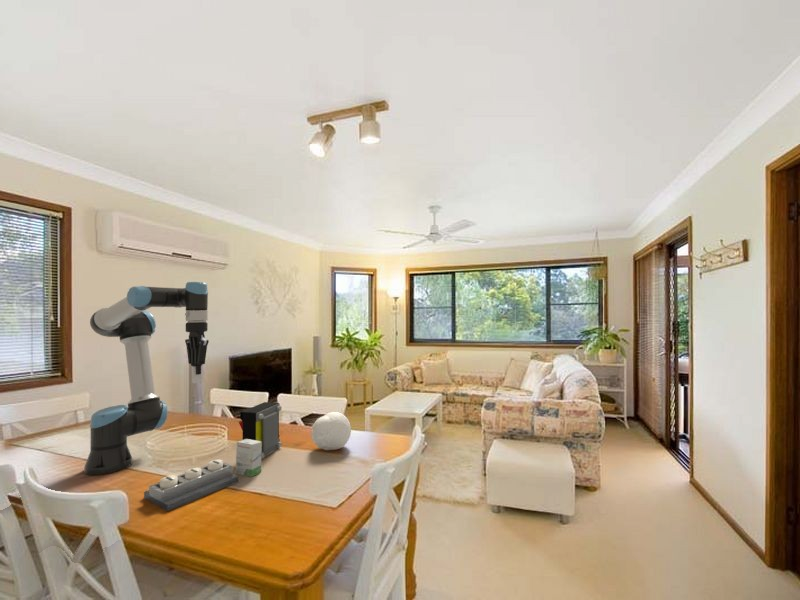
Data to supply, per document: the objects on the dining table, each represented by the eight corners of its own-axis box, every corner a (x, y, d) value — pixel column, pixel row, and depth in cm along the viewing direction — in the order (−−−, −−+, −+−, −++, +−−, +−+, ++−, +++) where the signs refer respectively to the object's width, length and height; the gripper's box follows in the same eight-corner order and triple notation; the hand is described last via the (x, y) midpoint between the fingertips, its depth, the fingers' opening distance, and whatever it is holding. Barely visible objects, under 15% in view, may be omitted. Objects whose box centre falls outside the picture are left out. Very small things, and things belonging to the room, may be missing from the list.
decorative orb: (362, 446, 170) (362, 411, 171) (335, 460, 155) (335, 421, 156) (329, 439, 181) (329, 406, 181) (301, 451, 166) (301, 414, 166)
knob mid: (182, 483, 130) (182, 470, 130) (196, 477, 134) (196, 465, 135) (189, 486, 128) (189, 474, 128) (204, 481, 132) (204, 468, 132)
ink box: (235, 473, 144) (235, 442, 144) (246, 468, 149) (245, 437, 149) (251, 477, 140) (251, 445, 141) (262, 471, 145) (262, 440, 145)
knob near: (156, 492, 124) (156, 478, 124) (172, 486, 128) (172, 473, 128) (164, 496, 121) (164, 482, 121) (180, 489, 125) (180, 476, 125)
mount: (143, 498, 125) (143, 482, 126) (214, 472, 145) (214, 458, 146) (167, 511, 116) (167, 495, 117) (238, 481, 137) (238, 467, 137)
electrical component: (260, 462, 154) (260, 413, 155) (238, 460, 157) (238, 411, 157) (283, 447, 171) (283, 402, 172) (263, 445, 174) (263, 402, 174)
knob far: (204, 474, 137) (204, 462, 137) (218, 469, 141) (218, 457, 141) (212, 477, 134) (212, 465, 134) (225, 472, 138) (225, 460, 139)
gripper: (178, 322, 147) (177, 382, 146) (195, 322, 140) (195, 386, 139) (197, 321, 153) (197, 379, 153) (215, 321, 146) (215, 382, 145)
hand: (196, 382), depth 146 cm, fingers closed
